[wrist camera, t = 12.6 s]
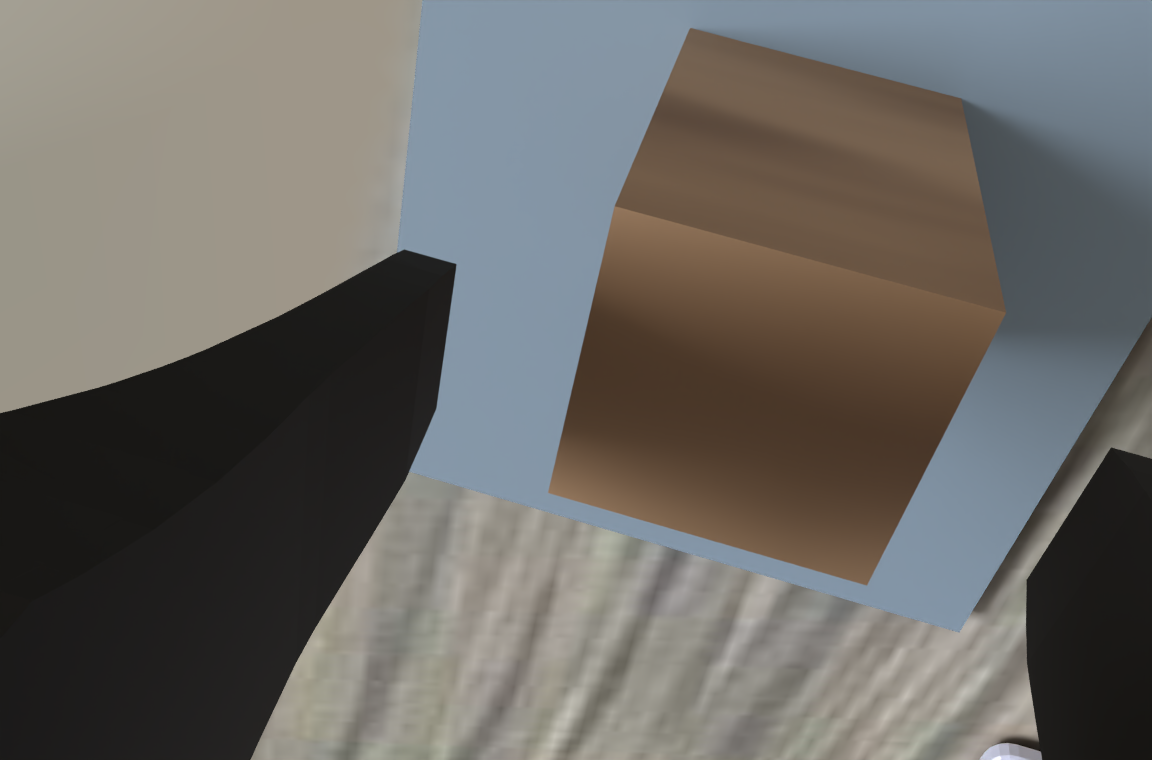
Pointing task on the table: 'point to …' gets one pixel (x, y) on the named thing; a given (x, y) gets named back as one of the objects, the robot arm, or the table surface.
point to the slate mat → (601, 165)
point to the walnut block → (782, 309)
